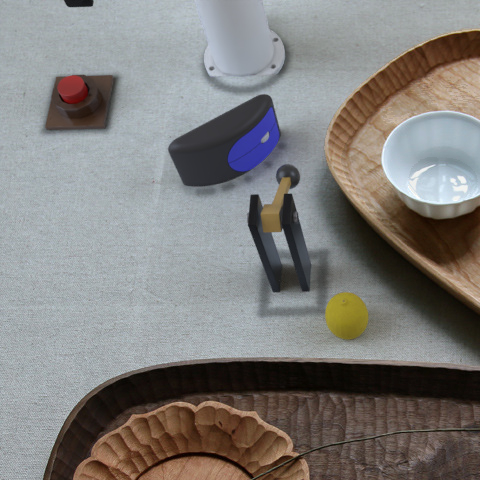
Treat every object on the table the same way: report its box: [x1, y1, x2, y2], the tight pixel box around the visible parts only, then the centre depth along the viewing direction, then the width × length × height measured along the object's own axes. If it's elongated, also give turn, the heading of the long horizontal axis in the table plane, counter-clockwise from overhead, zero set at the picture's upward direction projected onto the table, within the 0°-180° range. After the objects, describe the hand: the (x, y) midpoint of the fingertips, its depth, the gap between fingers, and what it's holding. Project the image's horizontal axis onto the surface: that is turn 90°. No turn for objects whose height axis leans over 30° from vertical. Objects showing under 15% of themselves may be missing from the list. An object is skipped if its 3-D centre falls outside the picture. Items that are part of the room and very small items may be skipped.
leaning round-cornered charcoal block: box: [167, 93, 282, 188], centre depth 114 cm, size 16×5×9 cm, turn 123°
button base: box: [44, 74, 115, 131], centre depth 124 cm, size 10×9×2 cm
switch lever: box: [261, 163, 301, 233], centre depth 102 cm, size 16×3×3 cm, turn 179°
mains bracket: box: [246, 192, 312, 293], centre depth 103 cm, size 9×8×17 cm
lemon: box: [324, 291, 369, 341], centre depth 104 cm, size 6×6×8 cm
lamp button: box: [58, 74, 88, 104], centre depth 122 cm, size 4×4×2 cm
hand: (81, 1), depth 96 cm, fingers closed
